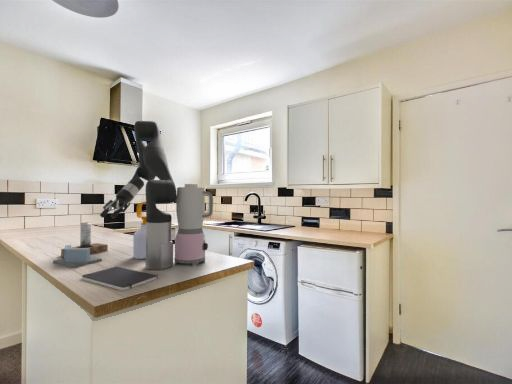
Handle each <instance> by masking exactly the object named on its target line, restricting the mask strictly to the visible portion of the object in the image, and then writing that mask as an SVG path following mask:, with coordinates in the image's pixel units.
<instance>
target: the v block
mask: <svg viewBox="0 0 512 384" xmlns="http://www.w3.org/2000/svg"><path fill="white" fill-rule="evenodd" d="M71 247H72V244H68V245H66V244H65V246H64V248H63V249H64V256H63V258H58V259H53V260H52V263H53V264H56V265H62V266H65V267H69V268H78V267H83V266H86V265H90V264H91V265H92V264H95V263H99V262H102V261H103V258H101V257H96V256H92V255H91V254H90V248H71Z"/></svg>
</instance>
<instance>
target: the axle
mask: <svg viewBox="0 0 512 384" xmlns="http://www.w3.org/2000/svg"><path fill="white" fill-rule="evenodd" d="M79 227H80V232H79V233H80V235H79V236H80V237H79V239H80V241H79V242H80V244H79V246H80V248H89V247H91V244H92V243H91V241H92V237H91V236H92V222H90V221H89V222H88V221H87V222H80V226H79Z"/></svg>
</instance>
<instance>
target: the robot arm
mask: <svg viewBox="0 0 512 384" xmlns="http://www.w3.org/2000/svg"><path fill="white" fill-rule="evenodd" d="M133 126H134V127H133V129H134V130H133V131H134V137H135V143H136V149H137V152H138V167H137V168H136V170H135V172H134V175H133V176H132V177H131V179H130V180H129V181H128V182H127V183H126V184H125V185H124V186H123V187H122V188H121V189H120V190H119V191H118V192H117V193H116V194H115V199H114V200H112V199H110V200H109V201H108V202H106V204H105V205H104V206H103V207H102V209H103V210H102V211H101V213H100V214H99V217H101V218H105V217H106V216H107V215H108V213H109V212H111V211H113V213H112V214H111V215H110V217H111V218H112V219H114V220H115V219H116V218H117V217H118V216H119V214H121V213H125V212H126V210H127V209H128V208H129V207H130V205H131V203H132V201H133V200H134V199H135V197H137V195H138V193H139V192H140V191H141V190H142V188H143V187H144V186H145V202H146V203H145V211H146V212H145V216H146V259H145V268H146V269H148V270H161V271H162V270H164V269H167V268H170V267H171V268H172V267H173V266H174V241H173V240H172V214H171V213H170V212H169V213H168V212H165V211H162V210H160V209H159V208H157V205H165V204H166V205H168V204H173V203H175V201H176V198H177V187H176V184H175V181H174V179H173V176H172V174H171V171H170V169H169V164H168V160H167V156H166V153H165V150H164V149H165V148H164V146H163V142H162V138H161V131H160V126H159V125H158V123H157V122H156V121H153V120H137V121H135V123H134V125H133ZM144 141H145V142H146V141H148V143H147V145H146V144H145V143H144ZM156 178H158V179H156ZM144 180H145V181H146V183H145V182H144Z"/></svg>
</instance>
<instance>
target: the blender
mask: <svg viewBox="0 0 512 384" xmlns="http://www.w3.org/2000/svg"><path fill="white" fill-rule="evenodd" d="M206 197H208V212H205V210H206ZM175 201H176V205H175V206H176V207H175V209H176V210H175V211H176V219H177V224H178V226H177V227H178V229H177V233H176V235H175V239H174V257H173V261H174V264H175V265H176V264H178V263H179V264H191V265H192V267H195V266H198V265H199V263H200V262H206V251H207V250H208V248H209V245H208V243H207V242H206V236H205V233H204V231H203V230H204V229H203V224H204V219H205V218H209V217H211V216H212V215H213V211H214V210H213V209H214V208H213V207H214V197H213V194H212V193H211V192H209V191H205V187H198V184H197V183H184V187H183V186H182V187H180V186H179V187H176V200H175Z"/></svg>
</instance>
